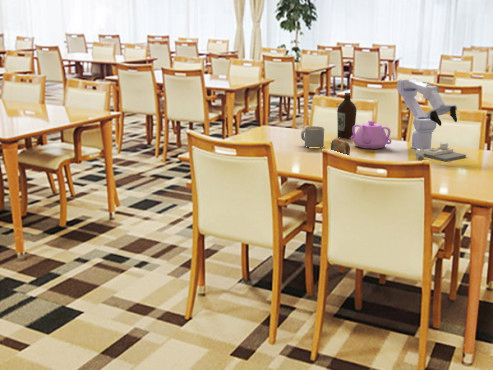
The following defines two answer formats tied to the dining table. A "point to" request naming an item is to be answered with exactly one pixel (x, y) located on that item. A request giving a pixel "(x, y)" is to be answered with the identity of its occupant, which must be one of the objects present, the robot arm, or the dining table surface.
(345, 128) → the olive oil
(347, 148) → the mottled brown rounded slab
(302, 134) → the coffee mug
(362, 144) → the teapot
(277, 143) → the dining table surface
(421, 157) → the pin
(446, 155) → the board
